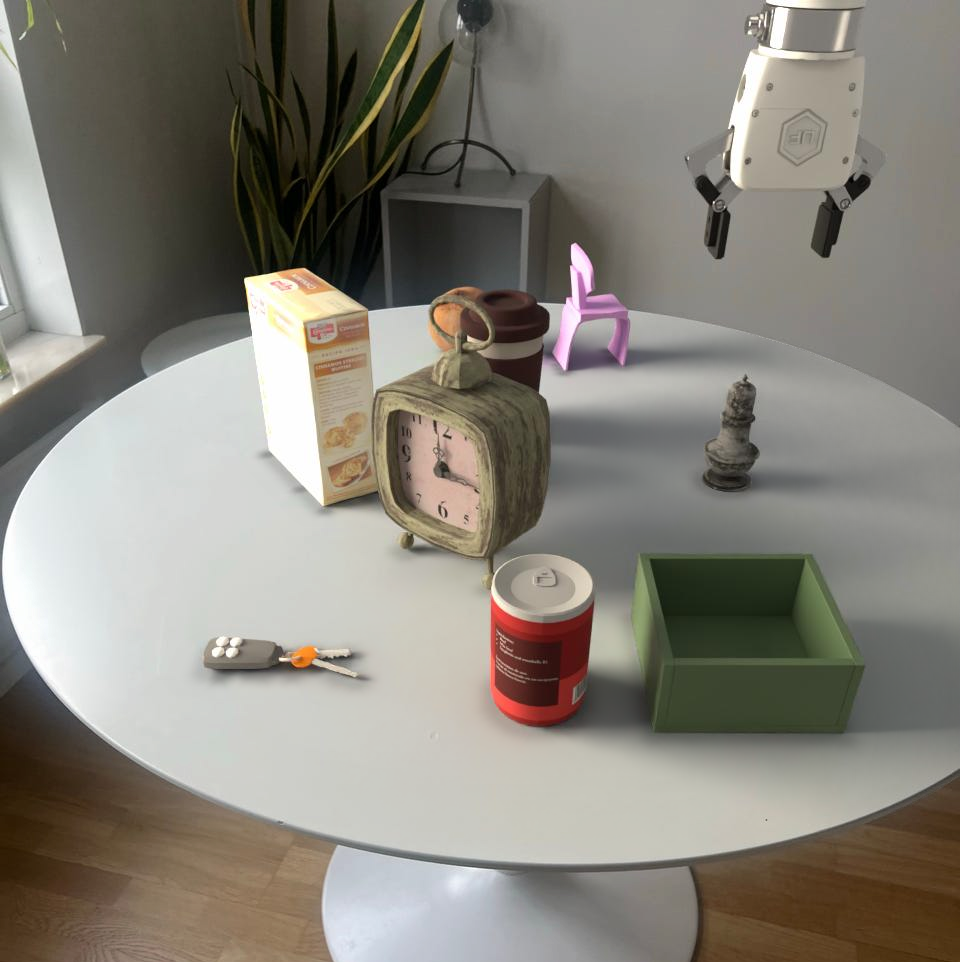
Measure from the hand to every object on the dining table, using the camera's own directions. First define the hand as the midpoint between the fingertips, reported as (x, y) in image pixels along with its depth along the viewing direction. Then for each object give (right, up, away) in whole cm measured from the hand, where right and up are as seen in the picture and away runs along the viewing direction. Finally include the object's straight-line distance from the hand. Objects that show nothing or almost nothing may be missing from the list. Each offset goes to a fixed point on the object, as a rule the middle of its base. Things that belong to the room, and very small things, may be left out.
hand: (767, 254), depth 87 cm
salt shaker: (+1, -18, +17) cm, 25 cm away
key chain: (-42, -37, -7) cm, 57 cm away
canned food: (-21, -40, -10) cm, 46 cm away
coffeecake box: (-43, -16, +19) cm, 50 cm away
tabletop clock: (-27, -27, +6) cm, 39 cm away
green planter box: (-5, -38, -8) cm, 39 cm away
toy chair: (-11, +3, +43) cm, 45 cm away
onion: (-28, +4, +45) cm, 53 cm away
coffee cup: (-23, -10, +28) cm, 37 cm away
